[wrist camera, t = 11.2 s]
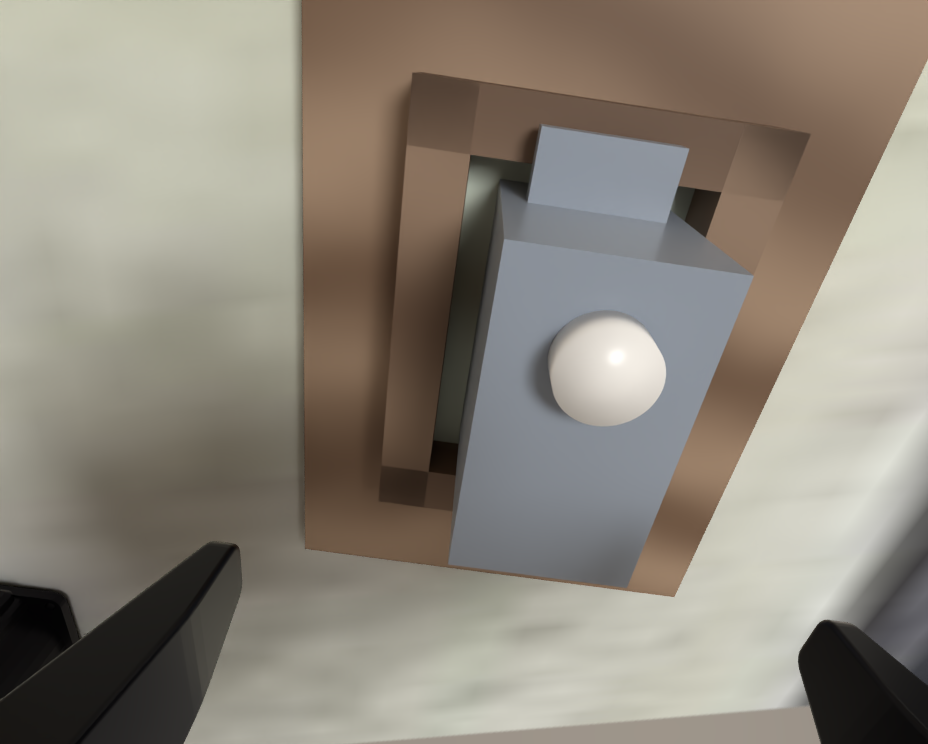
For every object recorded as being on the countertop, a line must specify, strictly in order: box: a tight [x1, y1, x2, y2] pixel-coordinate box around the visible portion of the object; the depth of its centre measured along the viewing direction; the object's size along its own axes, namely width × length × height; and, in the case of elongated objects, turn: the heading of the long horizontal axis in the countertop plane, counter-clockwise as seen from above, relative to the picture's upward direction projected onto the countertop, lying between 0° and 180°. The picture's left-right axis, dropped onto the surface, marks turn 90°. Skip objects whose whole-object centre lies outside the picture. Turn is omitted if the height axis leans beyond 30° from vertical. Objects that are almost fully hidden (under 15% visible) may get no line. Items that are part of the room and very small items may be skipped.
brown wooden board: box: [302, 0, 928, 597], centre depth 17 cm, size 22×15×3 cm
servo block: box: [448, 124, 754, 588], centre depth 14 cm, size 11×4×7 cm, turn 172°
